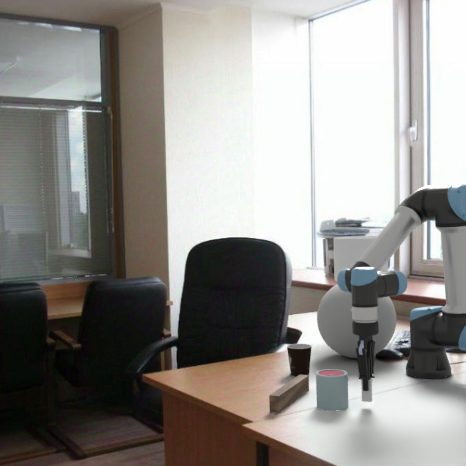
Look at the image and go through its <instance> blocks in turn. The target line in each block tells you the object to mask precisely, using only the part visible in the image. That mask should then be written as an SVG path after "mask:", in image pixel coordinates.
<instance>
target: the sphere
mask: <svg viewBox="0 0 466 466" xmlns="http://www.w3.org/2000/svg"><path fill="white" fill-rule="evenodd" d="M350 309H352V293H349V292H345V291H342V290H341V289H340V288H339V286H338V284H335V285H333V286H332V287H331V288H330V289H329V290H328V291H327V292H326V293H325V294H324V295H323V296H322V298H321V300H320V302H319V305H318V308H317V313H316V314H317V315H316V322H317V328H318V331H319V334H320V336H321V338H322V340H323V341H324V343H325V344H326V345H327V346H328V347H329V348H330V349H331V350H332V351H334V352H335V353H336V354H339V355H341V356H343V357H345V358H346V357H347V358H350V359H357V353H356V348H358V344H357V343H358V341H359V336H358V335H355V334H353V332H352V322H353V321H354V320H353V319H352V312H351V311H350ZM378 317H379V319H378V320H376V321H378V324H379V333H378V334H377V335H373V336H372V337H373V340H374V341H375V348H374V355H376V354H379V352H382V350H383V349H385V348H386V347H387V346H388V344H389V343H390V342H391V340H392V339H393V336H394V334H395V331H396V327H397V312H396V308H395V304H394V302H393V301H392V299H391V297H383V298H378Z"/></svg>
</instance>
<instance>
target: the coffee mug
mask: <svg viewBox="0 0 466 466" xmlns="http://www.w3.org/2000/svg"><path fill="white" fill-rule="evenodd" d="M286 349H287V357H288V364H289V371H290V375H291V376H292V377H297V376H298V375H309V376H310V368H311V357H312V345H311V344H307V343H292V344H288V345H286Z"/></svg>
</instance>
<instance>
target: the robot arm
mask: <svg viewBox="0 0 466 466" xmlns="http://www.w3.org/2000/svg"><path fill="white" fill-rule="evenodd" d="M430 221H434V222H435V223H434V226H435V229H437V230H438V232H440V239H441V240H440V241H441V253H442V263H443V264H442V265H443V279H444V281H443V282H444V291H445V305H444V306H443V305H433V306H422V307H416V308H412V309H411V311H410V312H409V315H410V316H409V335H410V337H409V339H410V352H409V355H408V358H407V362H406V366H405V374H406V375H407V376H410V377H414V378H417V379H430V380H431V379H443V378H448V377H450V376H451V375H452V366H451V362H450V361H449V357H448V354H447V351H446V348H452V349H457V350H461V351H466V184H463V183H460V184H459V183H452V184H438V185H437V184H436V185H432V184H431V185H425V186H422V187H421V188H418V189H416V190H415V191H413V192H412V193H411V194H409V195H408V196H407V197H406V198H405V199H404V200H403V201H402V202H401V203H400V204H399V205H398V206H397V207H396V209H395V210H394V216H393V217H392V218H391V220H390V221H389V222H388V223H387V224H386V226H385V227H383V229H382V230H381V231H380V233H379V234H378V235H376V236H377V238H376V239H375V240H374V241H373V243H372V244H371V245H370V246H369V247H368V249H367V250H366V251H365V252H364V254H363V255H362V256H361V257H360V258H359V260H358V261H357V262H356V263H355V264H354V266H353V267H352V268H351V269H350V268H347V269H343V270H341V271H340V272H339V274H338V277H337V281H336V283H337V284H338V286H339V288H340V289H341V290H342V291H345V292H349V293H352V309H350V311H351V312H352V319H353V320H354V321H353V322H352V332H353V334H355V335H358V336H359V341H358V343H357V344H358V348H356V353H357V358H356V359H357V367H358V368H357V370H358V377H357V378H358V380H360V382H361V402H368V403H371V402H373V379H375V378H376V377H375V375H374V374H375V373H374V369H375V368H374V367H375V354H374V348H375V341H374V340H373V337H372V336H373V335H377V334H378V333H379V324H378V321H376V320H378V319H379V317H378V298H383V297H390V298H391V297H397V296H400V295H403V294H404V293H405V292H406V291H407V289H408V280H407V277H406V275H405V274H404V273H403V272H402V271H401V270H388V271H380V270H381V269H382V268H383V267H384V265H385V264H386V263H387V262H388V263H389V261H390V259H391V257H392V256H394V254H395V253H396V252H397V250H399V248H400V247H401V245H402V244H403V243H404V242H405V240H406V239H407V237H408V236H410V234H411V233H412V231H413V230H416V229H419V228H420V227H421V225H422V224H423V223H427V222H430ZM337 284H336V285H337Z"/></svg>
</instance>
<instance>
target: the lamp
mask: <svg viewBox="0 0 466 466" xmlns="http://www.w3.org/2000/svg"><path fill="white" fill-rule="evenodd" d="M377 236H378V235H352V236H351V235H349V236H337V237H333V270H334V272H333V273H334V274H333V275H334V281H335V282H337V277H338V274H339V272H340V271H341V270H343V269H347V268H350V269H351V268H352V267H353V266H354V264H355V263H356V262H357V261H358V260H359V258H360V257H361V256H362V255H363V254H364V252H365V251H366V250H367V249H368V247H369V246H370V245H371V244H372V243H373V241H374V240H375V239H376V238H377ZM388 263H389V261H388V262H387V263H386V264H385V265H384V267H383V268H382V269H381V270H380V271H389V266H388V265H389V264H388Z"/></svg>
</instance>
